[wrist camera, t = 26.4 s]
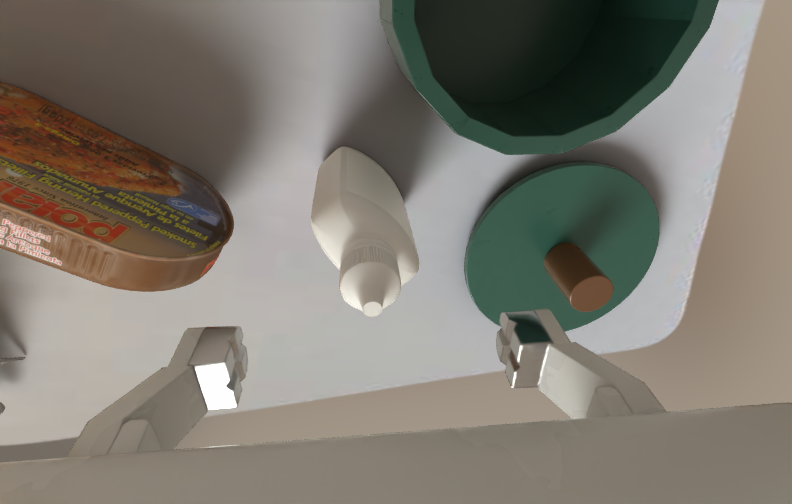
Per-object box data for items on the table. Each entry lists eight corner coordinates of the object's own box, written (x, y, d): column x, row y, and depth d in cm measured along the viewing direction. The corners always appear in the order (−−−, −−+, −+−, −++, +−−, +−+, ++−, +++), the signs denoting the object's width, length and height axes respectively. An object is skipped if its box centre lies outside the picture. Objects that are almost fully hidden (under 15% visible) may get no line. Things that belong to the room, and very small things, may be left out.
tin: (250, 198, 26) (211, 276, 18) (229, 238, 27) (184, 326, 20) (-51, 50, 21) (-269, 76, 13) (-60, 108, 22) (-265, 161, 14)
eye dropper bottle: (387, 132, 24) (416, 228, 14) (407, 219, 27) (443, 351, 17) (313, 151, 25) (287, 259, 14) (341, 235, 27) (336, 376, 17)
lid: (471, 160, 26) (497, 193, 21) (675, 156, 27) (741, 186, 22) (454, 329, 32) (471, 381, 28) (619, 320, 33) (661, 369, 29)
